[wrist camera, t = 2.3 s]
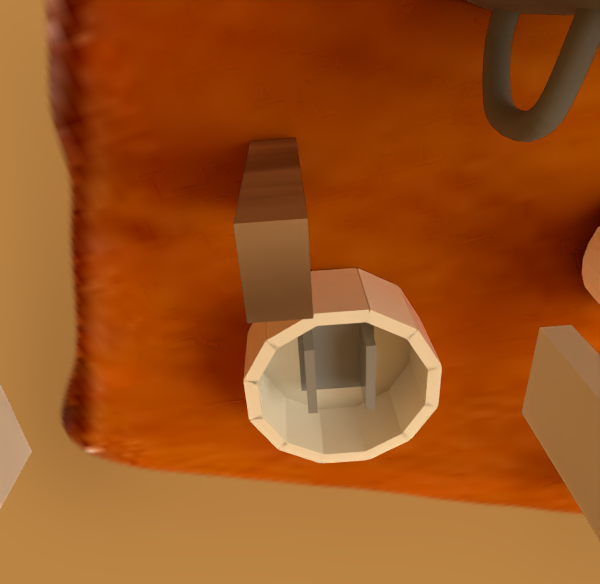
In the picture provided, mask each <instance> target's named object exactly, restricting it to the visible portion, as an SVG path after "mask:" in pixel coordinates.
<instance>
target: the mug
mask: <svg viewBox="0 0 600 584" xmlns="http://www.w3.org/2000/svg"><path fill="white" fill-rule="evenodd" d="M466 1H468V2H469V3H471V4H474V5H476V6H479V7H481V8H485V9H488V10H493V11H492V15H491V18H490V22H489V26H488V30H487V35H486V40H485V48H484V57H483V104H484V110H485V115H486V117H487V119H488V121H489V123H490V124H491V126H492V127H493V128H494V129H495V130H497V131H498V132H499V133H500V134H501V135H503V136H505V137H508V138H510V139H512V140H515V141H524V142H530V141H534V140H537V139H540V138H542V137H544V136H546V135H548V134H549V133H551V132H552V131H554V130H555V129H556V127H557V126H558V125H559V124H560V123H561V122H562V121H563V119H564V117H565V116H566V114H567V112H568V111H569V109H570V107H571V105H572V104H573V101H574V99H575V97H576V95H577V93H578V91H579V89H580V87H581V85H582V83H583V80H584V78H585V76H586V73H587V71H588V69H589V67H590V64H591V62H592V60H593V58H594V55H595V53H596V51H597V48H598V46H599V44H600V0H466ZM519 14H545V15H575V16H574V18H573V21H572V23H571V26H570V28H569V31H568V34H567V36H566V39H565V41H564V44H563V46H562V49H561V51H560V54H559V56H558V59H557V61H556V63H555V66H554V68H553V71H552V73H551V75H550V77H549V80H548V82H547V84H546V86H545V88H544V90H543V92H542V94H541V96H540V98H539V99H538V101H537V103H536V104H535V105H534V106H533V107H532V108H531V109H530V110H528V111H523V110H520V109H518V108H516V107H515V106H514V104H513V102H512V98H511V88H510V57H511V47H512V40H513V35H514V31H515V27H516V23H517V20H518V17H519Z"/></svg>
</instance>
